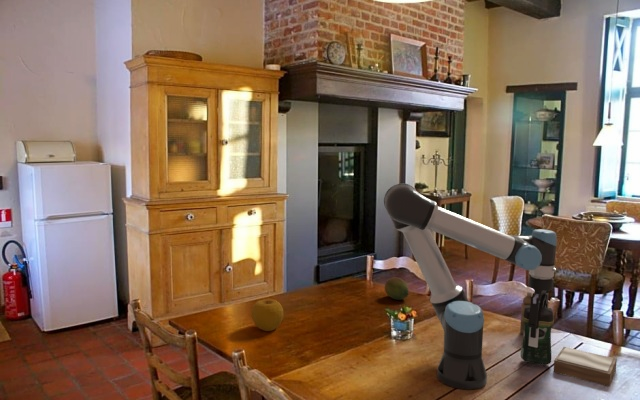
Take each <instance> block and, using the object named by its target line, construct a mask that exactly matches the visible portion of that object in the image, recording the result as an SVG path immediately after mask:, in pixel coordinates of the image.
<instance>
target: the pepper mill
mask: <svg viewBox="0 0 640 400" xmlns="http://www.w3.org/2000/svg"><path fill="white" fill-rule="evenodd" d="M532 295H533V292H531V291H527V293H526V296H524V297H523V299H522V302H521V309H520V310H521V311H520V313H521V314H520V330H519V331H520V332H519V334H520V336H523V335H524V321H523V314H524V310H525V307H526V305H531V297H532Z"/></svg>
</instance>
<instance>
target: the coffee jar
mask: <svg viewBox="0 0 640 400" xmlns="http://www.w3.org/2000/svg"><path fill="white" fill-rule="evenodd" d="M529 314H530V305H526V307H525V310H524V314H523V321H524V335H522V342H521V348H520V358H521V360H523V361H524V362H526V363H529V364H530V363H531V364H536V365H543V366H544V365H545V366H546V365H549V364H551V362H552V340H551V339H552V327H553V325H554V322H555V319H554V318H555V317H554V311H553V308H551V307H548V308H545V307H543V308H542V309H541V313H540V319H539V325H538V328H539V336H538V347H537V348H536V347H532V346H528V345H529V331H530V327H527V325H528V322H529Z"/></svg>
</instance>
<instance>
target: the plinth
mask: <svg viewBox="0 0 640 400" xmlns="http://www.w3.org/2000/svg"><path fill="white" fill-rule="evenodd" d="M616 369H617V358H614V357H610V356H606V355H603V354H598V353H592V352H590V351H589V352H588V351H583V350H580V349H576V348H570V347H567V346H563V347H562V349H561V350H560V351H559V353H558V355H557V356H556V357H555V359H553V373H557V374H559V375H564V376H568V377H571V378H575V379H579V380H583V381H587V382H590V383H594V384H597V385H598V384H599V385H602V386H606V387H610V386H611V384H612V380H613V378H614V376H615V373H616V371H617V370H616Z"/></svg>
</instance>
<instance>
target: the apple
mask: <svg viewBox="0 0 640 400" xmlns="http://www.w3.org/2000/svg"><path fill="white" fill-rule="evenodd" d="M250 312H251V313H250V314H251V316H250V317H251V319H252V321H253V323H254V325H255V326H256V327H257V328H258V329H259V330H261V331H264V332H271V331H274V330H277V329H278V328H279V326H280V325H281V323H282V321H283V318H284V308H283V306H282V305H281V303H280V302H279V301H277V299H271V298H266V299H261V300H257V301H256V302H255V303H254V304H253V306H252V307H251V310H250Z"/></svg>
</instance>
